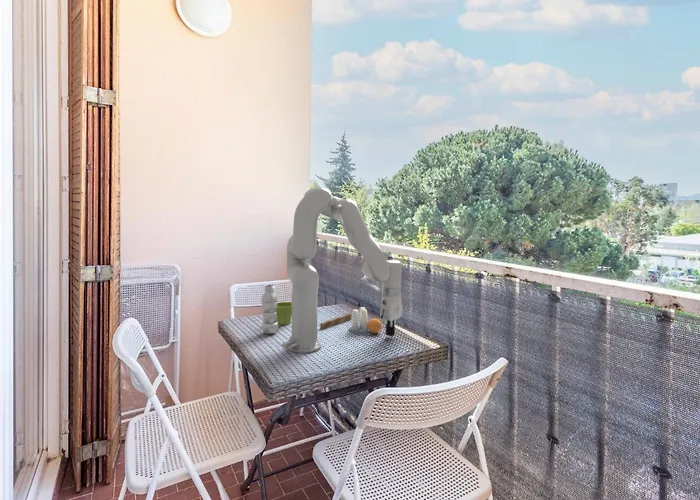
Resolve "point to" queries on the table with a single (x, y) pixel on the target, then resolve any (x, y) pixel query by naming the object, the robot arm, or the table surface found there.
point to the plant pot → (284, 313)
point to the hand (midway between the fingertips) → (390, 335)
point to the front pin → (364, 320)
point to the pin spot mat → (359, 331)
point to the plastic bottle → (269, 310)
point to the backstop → (335, 321)
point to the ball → (374, 325)
